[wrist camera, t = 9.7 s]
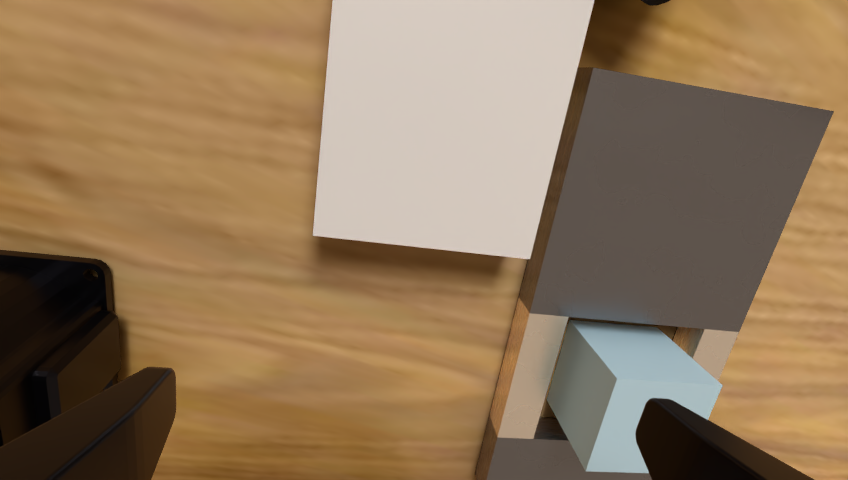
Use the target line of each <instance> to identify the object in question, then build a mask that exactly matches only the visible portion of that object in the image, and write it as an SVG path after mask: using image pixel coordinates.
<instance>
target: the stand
mask: <svg viewBox="0 0 848 480" xmlns="http://www.w3.org/2000/svg"><path fill="white" fill-rule="evenodd" d="M593 4H594V0H333V2H332V14H331V26H330V38H329V49H328V61H327V73H326V85H325V97H324V108H323V120H322V132H321V144H320V156H319V168H318V179H317V191H316V203H315V215H314V227H313V236H320V237H330V238H339V239H348V240H357V241H366V242H375V243H385V244H394V245H403V246H412V247H421V248H430V249H440V250H449V251H458V252H467V253H476V254H485V255H495V256H504V257H513V258H522V259H530V257H531V253H532V249H533V245H534V241H535V237H536V233H537V229H538V225H539V221H540V217H541V213H542V209H543V205H544V201H545V197H546V193H547V189H548V185H549V181H550V177H551V173H552V169H553V165H554V161H555V157H556V153H557V149H558V145H559V141H560V137H561V133H562V129H563V125H564V121H565V117H566V113H567V109H568V105H569V101H570V97H571V93H572V89H573V85H574V81H575V77H576V72H577V68H578V64H579V60H580V56H581V52H582V48H583V44H584V40H585V36H586V32H587V28H588V24H589V20H590V16H591V12H592V8H593Z"/></svg>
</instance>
